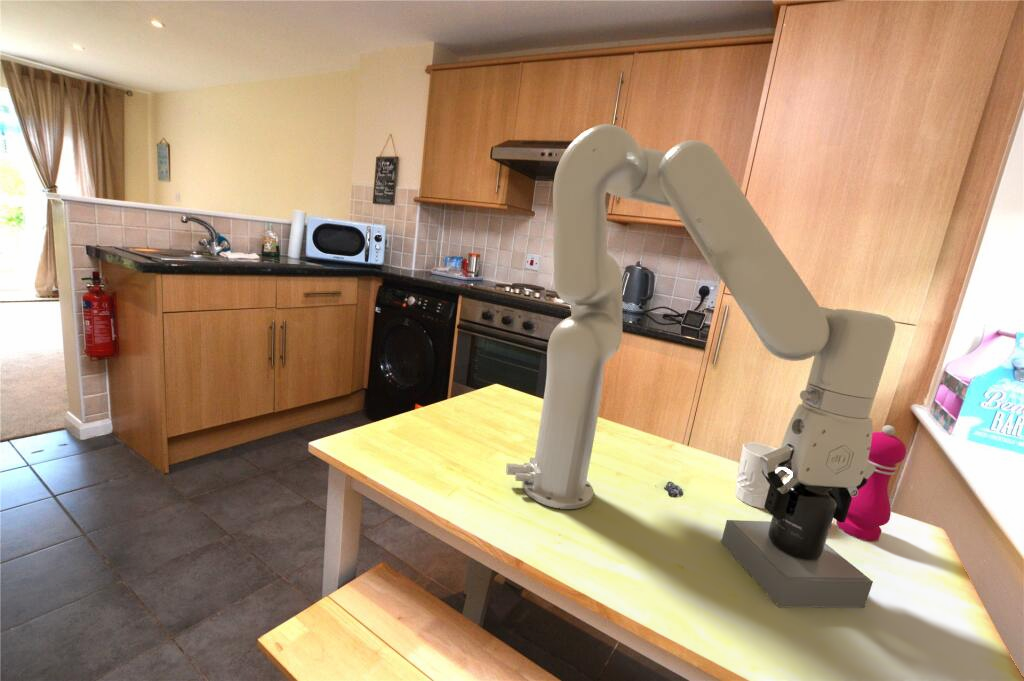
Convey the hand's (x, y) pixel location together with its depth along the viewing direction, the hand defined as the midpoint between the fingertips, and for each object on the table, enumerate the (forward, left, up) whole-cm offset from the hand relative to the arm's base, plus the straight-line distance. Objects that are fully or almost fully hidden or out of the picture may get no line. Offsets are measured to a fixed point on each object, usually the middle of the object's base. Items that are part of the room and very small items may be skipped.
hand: (803, 515), depth 65 cm
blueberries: (-7, +22, -10) cm, 25 cm away
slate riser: (0, 0, -9) cm, 9 cm away
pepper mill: (+23, +11, -10) cm, 27 cm away
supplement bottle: (0, 0, -5) cm, 5 cm away
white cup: (+9, +20, -10) cm, 24 cm away
